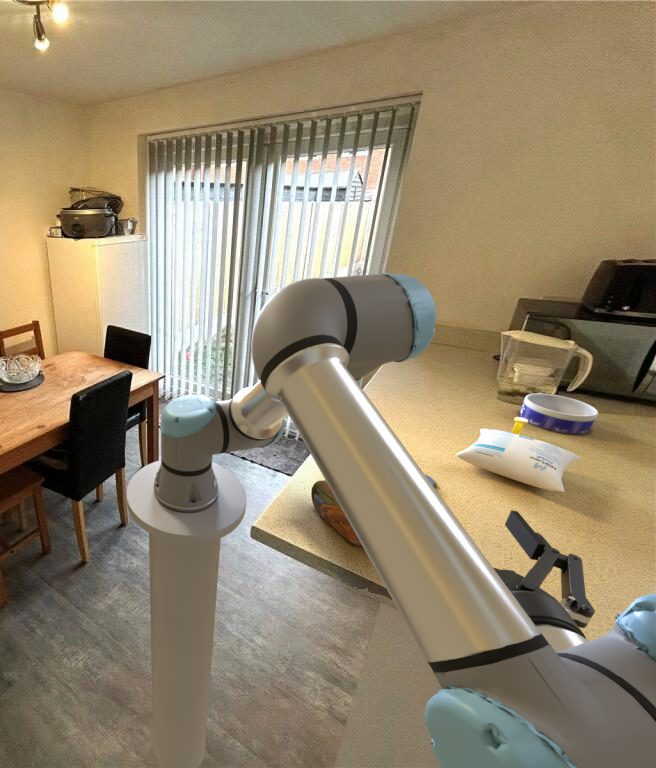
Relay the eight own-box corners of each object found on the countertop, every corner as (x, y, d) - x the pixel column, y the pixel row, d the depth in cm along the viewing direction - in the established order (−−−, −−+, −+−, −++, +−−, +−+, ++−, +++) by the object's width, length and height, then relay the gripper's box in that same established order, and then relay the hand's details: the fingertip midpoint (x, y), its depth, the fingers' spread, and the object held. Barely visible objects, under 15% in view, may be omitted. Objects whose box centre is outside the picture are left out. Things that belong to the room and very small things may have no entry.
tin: (307, 504, 86) (313, 473, 83) (319, 501, 87) (325, 469, 84) (363, 555, 73) (372, 520, 70) (376, 550, 74) (386, 516, 71)
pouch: (486, 415, 106) (462, 437, 94) (586, 447, 92) (572, 477, 80) (475, 440, 109) (451, 465, 97) (571, 474, 95) (555, 507, 84)
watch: (510, 432, 112) (517, 413, 110) (523, 435, 110) (530, 417, 108) (505, 439, 109) (512, 420, 107) (518, 443, 107) (526, 424, 105)
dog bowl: (599, 439, 108) (609, 420, 105) (526, 427, 115) (534, 408, 112) (577, 416, 120) (585, 398, 117) (512, 406, 127) (519, 389, 124)
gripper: (395, 638, 45) (358, 513, 63) (686, 709, 38) (549, 545, 56) (411, 592, 42) (368, 475, 60) (730, 659, 35) (570, 504, 53)
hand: (455, 509), depth 58 cm, fingers open, 13 cm apart
